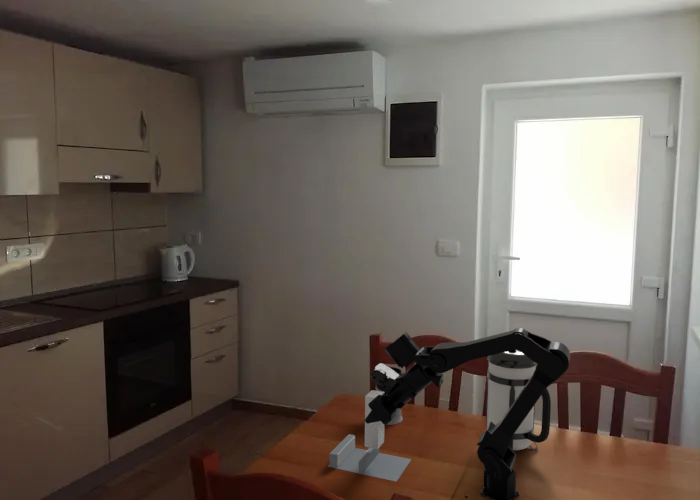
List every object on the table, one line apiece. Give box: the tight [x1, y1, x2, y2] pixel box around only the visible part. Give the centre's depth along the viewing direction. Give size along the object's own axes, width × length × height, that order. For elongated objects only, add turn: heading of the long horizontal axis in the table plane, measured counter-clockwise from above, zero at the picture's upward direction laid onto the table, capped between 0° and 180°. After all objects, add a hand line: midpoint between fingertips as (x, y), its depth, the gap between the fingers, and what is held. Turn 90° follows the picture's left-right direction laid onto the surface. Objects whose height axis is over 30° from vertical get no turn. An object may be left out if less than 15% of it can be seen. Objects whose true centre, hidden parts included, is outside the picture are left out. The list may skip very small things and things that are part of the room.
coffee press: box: [485, 349, 552, 452], centre depth 154 cm, size 17×16×30 cm
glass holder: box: [375, 366, 403, 426], centre depth 171 cm, size 9×14×15 cm, turn 4°
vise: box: [327, 433, 412, 483], centre depth 145 cm, size 18×12×4 cm, turn 67°
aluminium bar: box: [364, 389, 385, 450], centre depth 143 cm, size 4×4×13 cm
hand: (369, 418), depth 144 cm, fingers closed on aluminium bar, 4 cm apart
